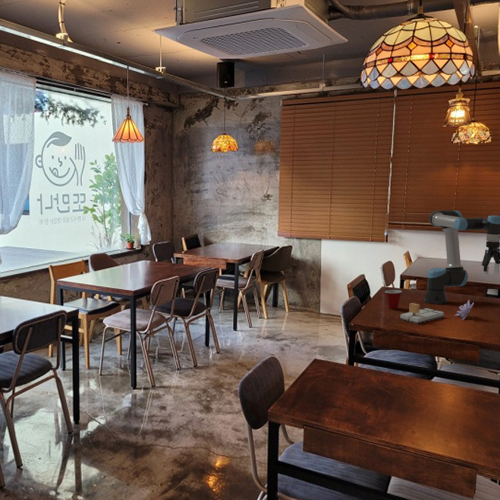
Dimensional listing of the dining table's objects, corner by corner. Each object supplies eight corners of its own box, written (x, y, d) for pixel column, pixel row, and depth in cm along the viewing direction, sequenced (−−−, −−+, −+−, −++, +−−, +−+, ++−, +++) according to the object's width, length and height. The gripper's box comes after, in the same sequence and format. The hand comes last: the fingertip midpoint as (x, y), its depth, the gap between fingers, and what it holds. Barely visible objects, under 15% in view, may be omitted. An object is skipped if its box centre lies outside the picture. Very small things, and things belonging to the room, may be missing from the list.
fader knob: (408, 317, 275) (409, 303, 274) (412, 316, 276) (412, 302, 275) (416, 319, 271) (416, 305, 270) (419, 318, 272) (419, 304, 271)
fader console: (400, 319, 276) (400, 314, 275) (426, 313, 290) (426, 307, 290) (417, 324, 266) (417, 318, 266) (443, 317, 280) (443, 311, 280)
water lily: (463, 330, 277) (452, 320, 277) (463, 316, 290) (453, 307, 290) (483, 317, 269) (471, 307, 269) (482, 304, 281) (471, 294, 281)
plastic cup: (389, 305, 310) (389, 288, 308) (404, 308, 302) (404, 290, 301) (380, 308, 302) (381, 290, 301) (396, 311, 295) (396, 293, 293)
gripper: (489, 243, 267) (487, 278, 270) (509, 240, 282) (506, 273, 285) (476, 241, 273) (474, 276, 276) (496, 239, 288) (494, 272, 291)
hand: (490, 275), depth 280 cm, fingers open, 13 cm apart
